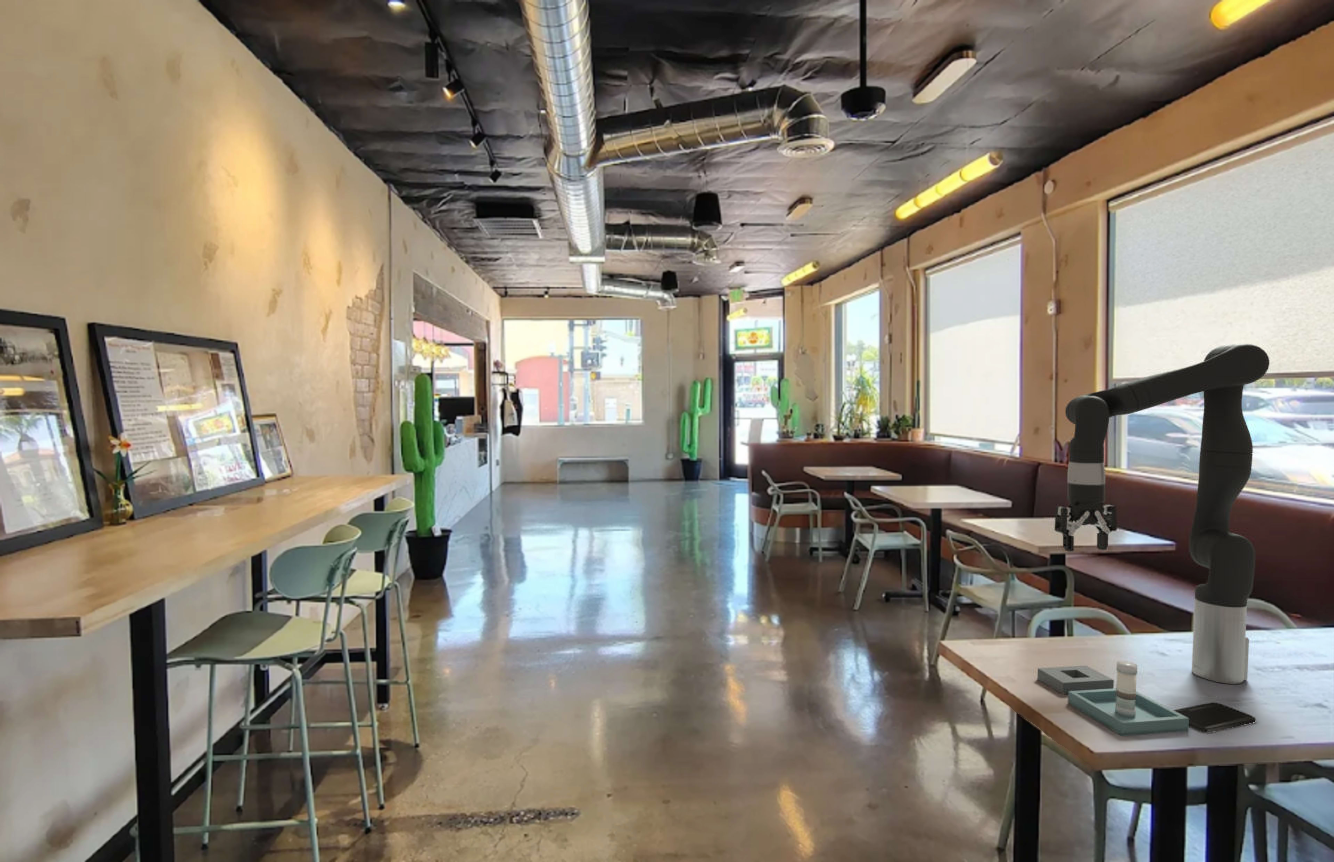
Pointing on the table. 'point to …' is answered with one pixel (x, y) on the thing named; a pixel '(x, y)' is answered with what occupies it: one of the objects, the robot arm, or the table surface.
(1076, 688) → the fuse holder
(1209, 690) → the table surface
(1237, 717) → the phone
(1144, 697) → the parts tray
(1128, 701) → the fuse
